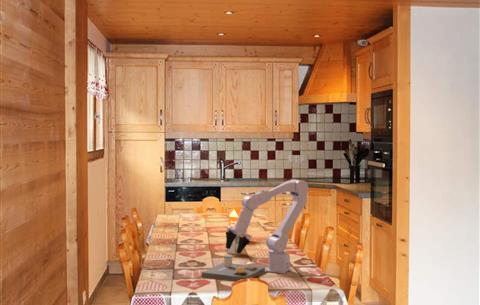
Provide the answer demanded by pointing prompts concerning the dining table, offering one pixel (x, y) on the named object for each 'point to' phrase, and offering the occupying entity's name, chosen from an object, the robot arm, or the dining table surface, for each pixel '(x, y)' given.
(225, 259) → the pale green slider knob
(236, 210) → the orange juice
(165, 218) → the dining table surface
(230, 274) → the control panel
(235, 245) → the syrup box
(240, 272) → the brass button
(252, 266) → the white button
